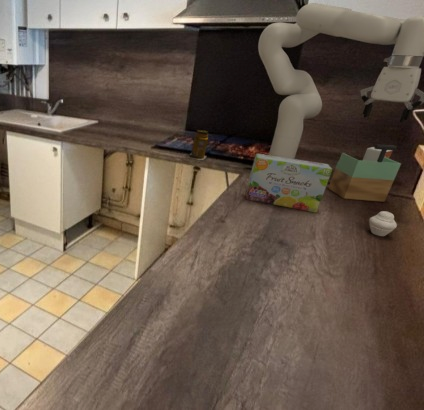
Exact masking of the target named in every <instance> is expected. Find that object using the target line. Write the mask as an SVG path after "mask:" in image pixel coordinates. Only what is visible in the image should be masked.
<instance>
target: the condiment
mask: <svg viewBox="0 0 424 410" xmlns="http://www.w3.org/2000/svg"><path fill="white" fill-rule="evenodd" d="M208 141H209V131H208V130H203V129H197V130H196V131H195V136H193V142H192V147H191V152H190V153H189V155H188V156H187V158H189V159H192V160H198V161H204V160H205V159H206V158H207V155H206V151H207V146H208Z"/></svg>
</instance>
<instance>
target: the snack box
mask: <svg viewBox="0 0 424 410" xmlns="http://www.w3.org/2000/svg"><path fill="white" fill-rule="evenodd" d="M251 167H252V168H251V170H250V174H249V179H248V181H247V185H246V186H247V187H246V189H245V200H248V201H254V202H259V203H265V204H270V205H275V206H279V207H285V208H290V209H295V210H301V211H305V212H310V213H317V212H318V209H319V206H320V204H321V201H322V199H323V197H324V193H325V191H326V188H327V186H328V183H329V180H330V178H331V176H332V172H333V168H332V167H331V166H330V164H329V163H323V162H316V161H311V160H310V161H309V160H303V159H298V158H297V159H296V158H294V159H290V158H284V157H277V156H270V155H269V154H262V153H256V154H255V157H254V160H253V163H252V166H251Z"/></svg>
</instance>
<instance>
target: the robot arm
mask: <svg viewBox="0 0 424 410" xmlns="http://www.w3.org/2000/svg"><path fill="white" fill-rule="evenodd" d="M319 34H325V35H329V36H332V37H336V38H337V37H339V38H346V39H349V40H354V41H359V42H362V43H368V44H376V45H383V46H389V45H394V46H393V50H392V53H391V55H390V56H389V57H385V58H384V59H383V63H384V64H385V63H386V65H387V66H383V68H382V69H381V71H380V73H379V75H378V77H377V79H376V81H375V84H374V85H370V86H369V87H366V88H362V89H360V91H359V93H360V96H361V99H362V101H363V102H364V104H365V106H364V109H363V110H362V111H363V112H362V115H363V118H368V117H370V115H371V112H372V109H373V106H374V105H373V103H375V102H376V101H383V102H393V103H403V104H404V106H405V108H404V109H403V111H402V114H401V117H400V119H399V123H405V122H406V121H408V120H409V118H410V116H411V114H412V110H414V109H416V108H417V107H419V106H421V105H422V104H423V103H424V91H422V90H420V89H419V88H418V86H419V82H420V79H421V73H422V68H420V66H421V63H422V61H423V60H424V59H423V58H424V16H412V17H408V18H406V19H404V18H396V17H391V16H387V15H386V16H385V15H380V14H373V13H366V12H361V11H357V10H356V11H355V10H353V9H351V8H349V7H343V6H342V7H341V6H336V5H330V4H329V5H328V4H323V3H317V2H311V3H308V4H305V5H303V6H301V8H300V9H299V10H298V12H297V13H296V16H295V23H291V22H283V21H282V22H280V21H278V22H273V23H271V24H268V25H267V26H266V27H265V28H264V29H263V31H262V32H261V34H260V36H259V39H258V45H257V49H258V55H259V58H260V60H261V61H262V64H263V65H264V69H265V70H266V73H267V76H268V77H269V81H270V83H271V85H272V87H273V90H274V92H275V93H276V94H277V95H280V96H286V97H285V98H284V99H283V100H282V101H281V102H280V104H279V107H278V113H277V122H276V126H275V130H274V134H273V138H272V141H271V145H270V149H269V152H268V155H270V156H277V157H284V158H290V159H296V155H297V151H298V149H299V146H300V142H301V139H302V135H303V131H304V120H308V119H312V118H314V117H316V116H318V115H319V114H320V112H321V111H322V108H323V101H322V97H321V95H320V93H319V91H318V89H317V87H316V85H315V82H314V80H313V77H312V76H311V75H310V73H308V72H307V71H306V70H302V69H295V68H294V66H293V64H292V63H291V60H290V58H289V56H288V54H287V53H286V52H285V51H284V49H283V48H289V49H290V48H294V47H297V46H299V45H301V44H303V43H305V42H306V41H308V40H310V39H312V38H313V37H315V36H317V35H319ZM369 92H371V93H370V98H369V96H368V93H369ZM415 95H416V96H418V97H419V99H418V100H417V101H416V102H414V103H413V100H414V98H415Z"/></svg>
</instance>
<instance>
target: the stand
mask: <svg viewBox="0 0 424 410" xmlns="http://www.w3.org/2000/svg"><path fill="white" fill-rule="evenodd" d="M394 181H395V179H394V180H383V179H370V178H356V177H351V176H349V175H347V174H345V173H344V172H342V171H340V170H338V169H336V167H335V168H334V171H333V174H332V177H331V179H330V182H329V185H328V189H329V190H330V191H331V192H333V193H334V194H336V195H337V196H339V197H341V199H344V200H359V201H371V202H372V201H373V202H383V203H385V202H386V199H387V197H388V195H389V192H390V190H391V189H392V185H393V184H394Z"/></svg>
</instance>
